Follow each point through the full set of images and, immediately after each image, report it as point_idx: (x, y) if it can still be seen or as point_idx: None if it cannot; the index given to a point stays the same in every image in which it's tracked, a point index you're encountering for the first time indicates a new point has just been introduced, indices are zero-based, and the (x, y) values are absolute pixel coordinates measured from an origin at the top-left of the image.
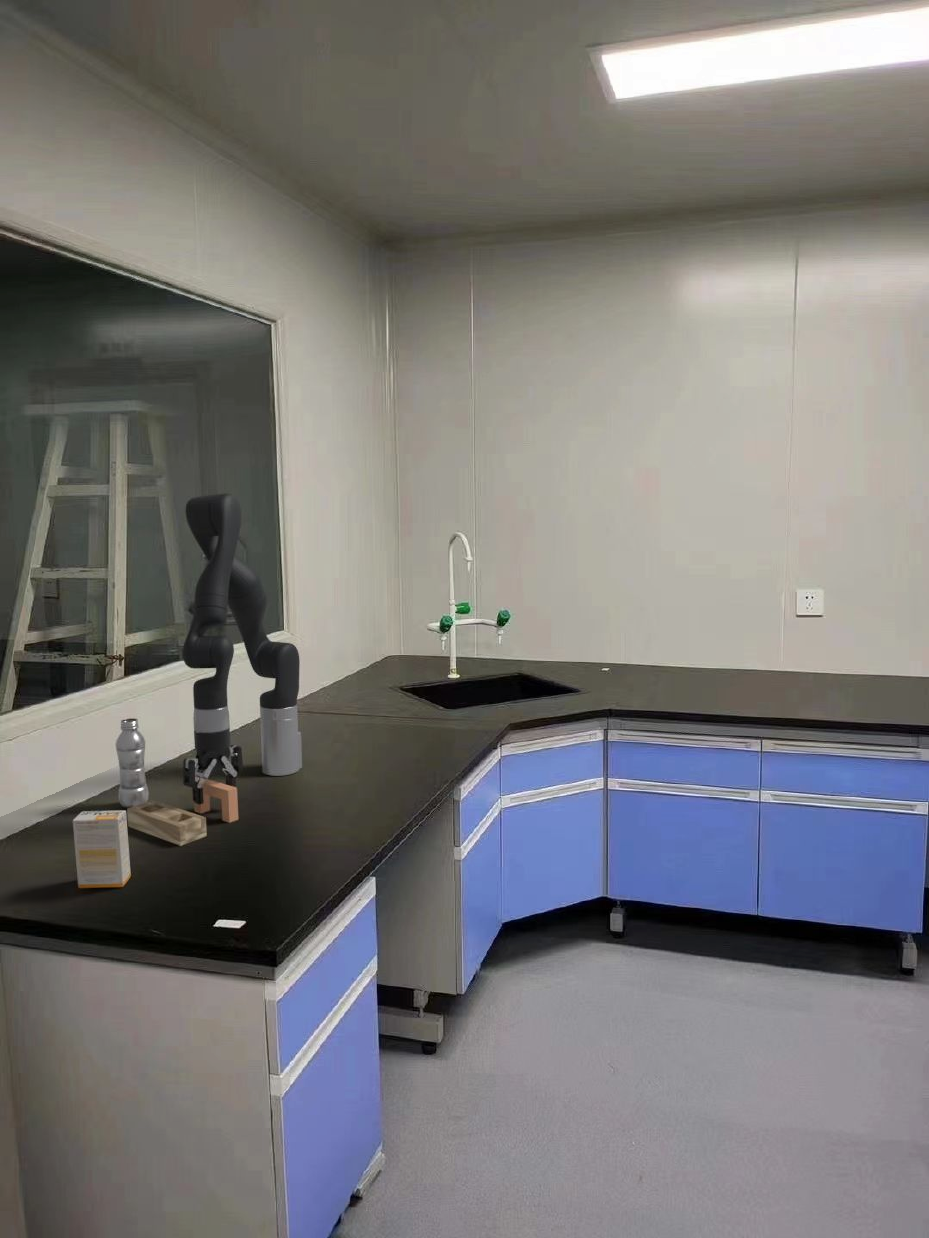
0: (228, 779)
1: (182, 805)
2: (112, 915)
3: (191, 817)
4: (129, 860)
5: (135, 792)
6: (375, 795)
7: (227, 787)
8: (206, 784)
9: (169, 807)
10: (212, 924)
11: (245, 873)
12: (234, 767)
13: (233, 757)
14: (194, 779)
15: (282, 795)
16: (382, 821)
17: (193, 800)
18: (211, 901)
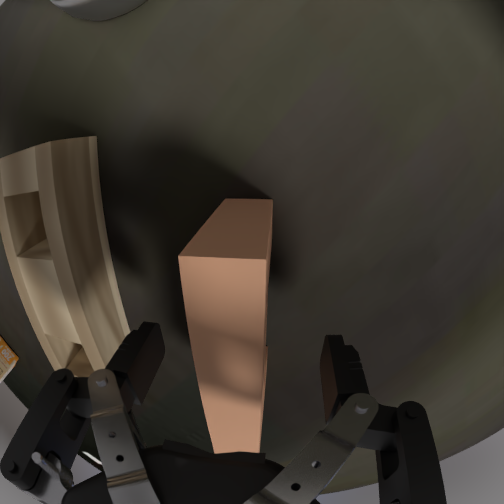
0: (330, 397)
1: (240, 94)
2: (14, 386)
3: None
4: (6, 372)
5: (66, 7)
6: (476, 420)
7: (236, 443)
8: (196, 372)
9: (63, 273)
10: (82, 450)
11: None
12: (386, 439)
13: (396, 491)
14: (82, 432)
15: (473, 323)
16: (375, 476)
17: (130, 334)
18: (88, 443)
